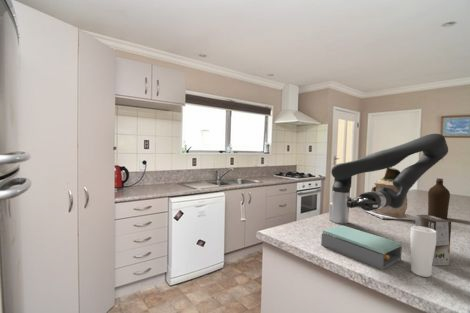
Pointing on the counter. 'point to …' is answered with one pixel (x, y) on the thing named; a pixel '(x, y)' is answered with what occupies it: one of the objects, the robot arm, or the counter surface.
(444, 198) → the olive oil
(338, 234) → the panel
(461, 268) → the counter surface
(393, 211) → the cookie jar
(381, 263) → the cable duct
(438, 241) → the coffee box
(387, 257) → the wooden dowel rod
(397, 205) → the robot arm
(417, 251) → the white tapered cylinder
